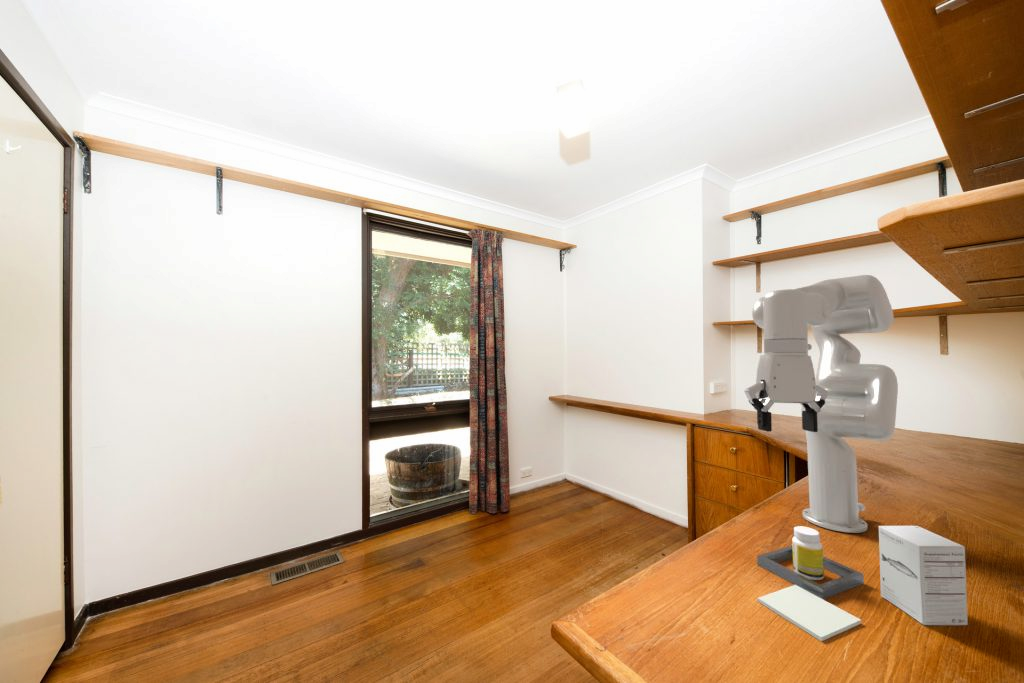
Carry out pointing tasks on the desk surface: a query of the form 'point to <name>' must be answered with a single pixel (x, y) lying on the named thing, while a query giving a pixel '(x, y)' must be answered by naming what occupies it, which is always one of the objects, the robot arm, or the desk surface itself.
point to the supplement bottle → (807, 553)
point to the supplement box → (923, 575)
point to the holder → (821, 591)
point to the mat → (809, 612)
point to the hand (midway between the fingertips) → (787, 430)
